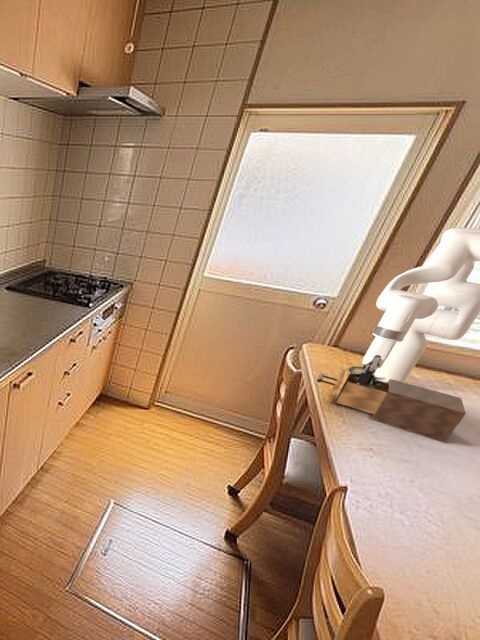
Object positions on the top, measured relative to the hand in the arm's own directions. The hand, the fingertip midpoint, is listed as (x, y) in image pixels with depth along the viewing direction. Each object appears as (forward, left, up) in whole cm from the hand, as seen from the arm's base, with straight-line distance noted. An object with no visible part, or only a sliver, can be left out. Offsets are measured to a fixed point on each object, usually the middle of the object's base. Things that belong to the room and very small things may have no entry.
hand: (363, 380), depth 147 cm
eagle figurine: (+2, 0, -1) cm, 2 cm away
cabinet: (0, +15, -10) cm, 18 cm away
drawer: (0, -1, -9) cm, 9 cm away
